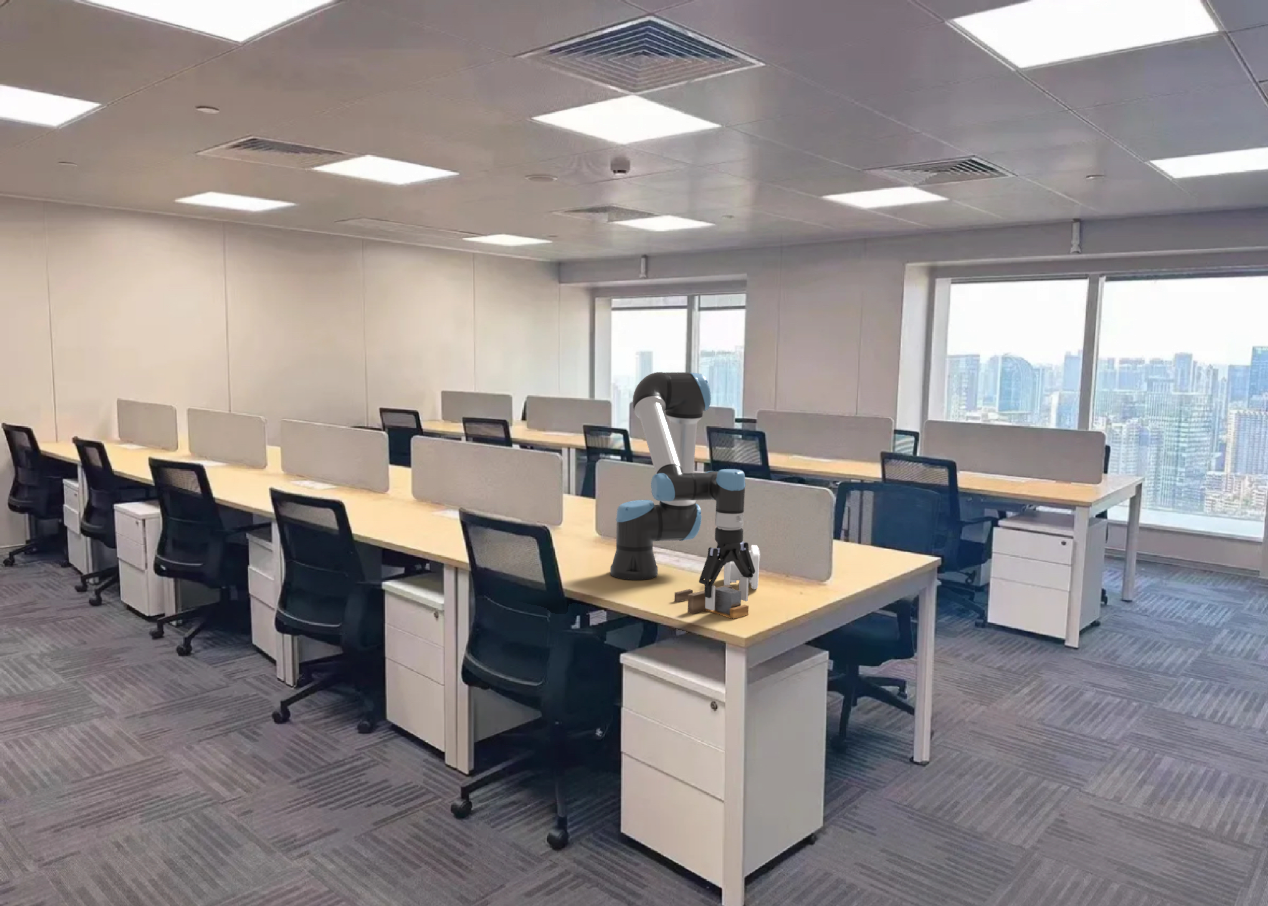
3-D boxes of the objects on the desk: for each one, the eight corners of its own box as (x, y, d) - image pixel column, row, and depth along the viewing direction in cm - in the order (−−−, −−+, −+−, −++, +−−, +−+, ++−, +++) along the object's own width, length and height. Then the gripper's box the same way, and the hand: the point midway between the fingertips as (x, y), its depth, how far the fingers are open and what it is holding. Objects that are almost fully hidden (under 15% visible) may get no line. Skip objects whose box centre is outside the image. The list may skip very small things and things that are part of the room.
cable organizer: (723, 578, 269) (724, 542, 268) (757, 579, 268) (758, 543, 266) (723, 590, 254) (724, 552, 253) (759, 592, 253) (760, 553, 252)
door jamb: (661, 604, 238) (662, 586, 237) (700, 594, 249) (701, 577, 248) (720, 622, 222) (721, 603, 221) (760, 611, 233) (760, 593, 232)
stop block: (714, 610, 231) (714, 589, 231) (723, 608, 234) (724, 586, 234) (730, 615, 227) (731, 593, 226) (740, 612, 230) (741, 591, 229)
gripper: (708, 535, 217) (705, 616, 220) (769, 524, 234) (766, 599, 236) (686, 530, 223) (684, 609, 225) (748, 520, 240) (745, 593, 242)
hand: (726, 604), depth 231 cm, fingers open, 13 cm apart
